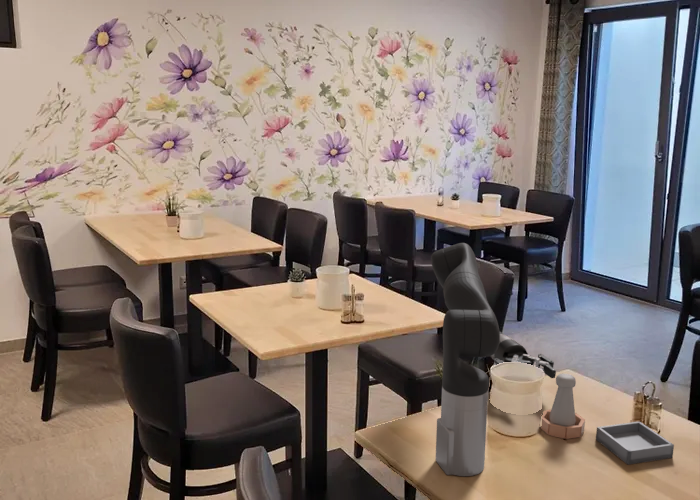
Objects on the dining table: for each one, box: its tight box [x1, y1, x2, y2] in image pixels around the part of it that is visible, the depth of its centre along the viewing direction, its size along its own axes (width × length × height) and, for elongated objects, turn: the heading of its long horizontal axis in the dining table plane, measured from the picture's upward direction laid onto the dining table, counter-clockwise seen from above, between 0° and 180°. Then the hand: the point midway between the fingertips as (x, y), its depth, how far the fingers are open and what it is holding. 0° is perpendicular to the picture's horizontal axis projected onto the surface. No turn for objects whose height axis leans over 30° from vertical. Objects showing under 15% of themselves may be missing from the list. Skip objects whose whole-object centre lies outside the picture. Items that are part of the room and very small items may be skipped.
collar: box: [540, 409, 586, 440], centre depth 156 cm, size 9×9×2 cm
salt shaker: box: [549, 373, 577, 427], centre depth 155 cm, size 6×6×13 cm
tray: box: [595, 421, 675, 465], centre depth 147 cm, size 11×11×3 cm
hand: (538, 376), depth 165 cm, fingers open, 8 cm apart
